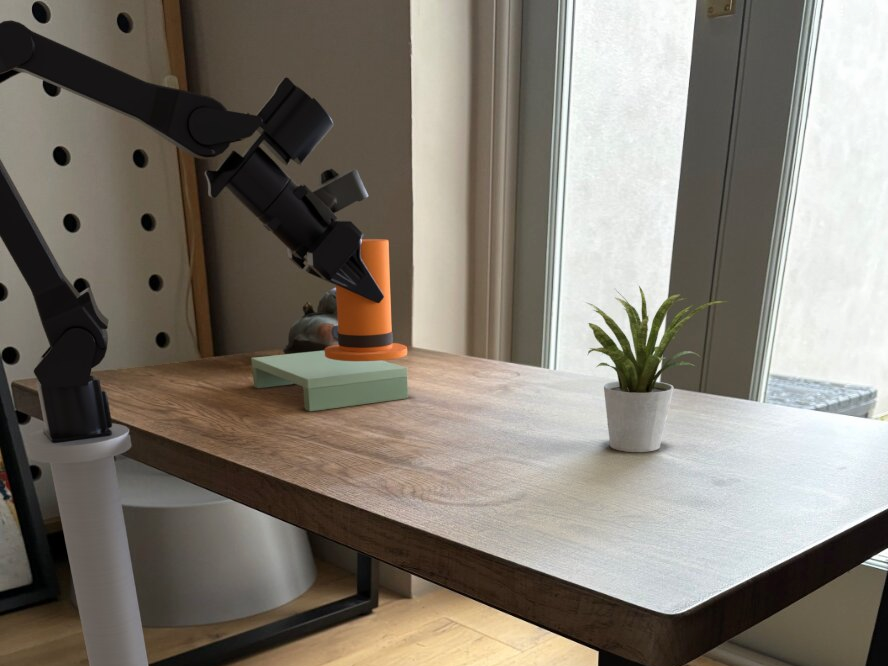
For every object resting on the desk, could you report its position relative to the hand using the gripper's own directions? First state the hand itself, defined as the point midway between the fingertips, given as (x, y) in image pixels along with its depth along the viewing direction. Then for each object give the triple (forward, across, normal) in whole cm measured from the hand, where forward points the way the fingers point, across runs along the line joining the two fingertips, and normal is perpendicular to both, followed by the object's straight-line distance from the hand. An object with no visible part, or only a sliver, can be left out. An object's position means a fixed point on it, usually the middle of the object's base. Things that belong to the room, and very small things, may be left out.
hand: (374, 297), depth 111 cm
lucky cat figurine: (+11, +40, +9) cm, 42 cm away
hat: (+4, 0, +6) cm, 7 cm away
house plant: (+25, -28, -6) cm, 38 cm away
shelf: (+7, +14, +12) cm, 19 cm away
